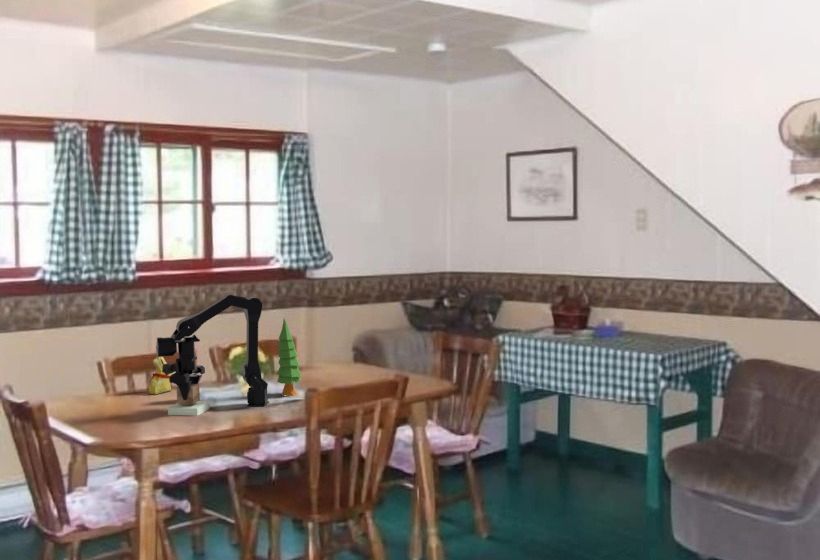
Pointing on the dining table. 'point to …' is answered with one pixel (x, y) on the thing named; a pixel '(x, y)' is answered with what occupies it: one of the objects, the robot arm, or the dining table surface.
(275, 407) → the dining table surface
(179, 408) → the base
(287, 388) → the decorative tree
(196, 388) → the walnut cube
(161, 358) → the chocolate bunny
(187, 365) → the robot arm
